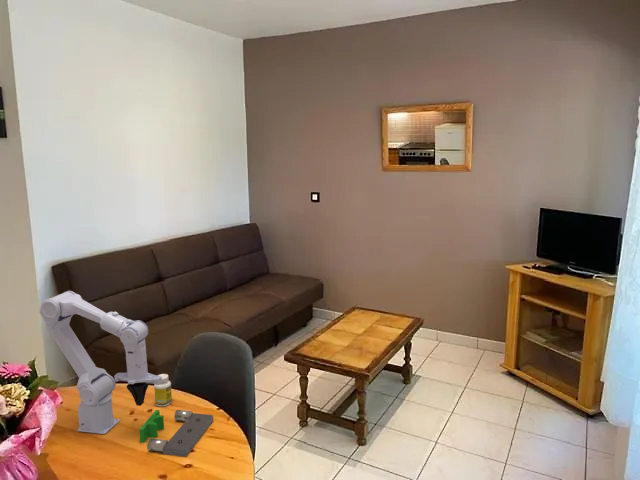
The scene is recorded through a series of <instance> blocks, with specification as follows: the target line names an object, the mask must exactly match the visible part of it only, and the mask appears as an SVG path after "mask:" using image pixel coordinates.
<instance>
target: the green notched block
mask: <svg viewBox="0 0 640 480" xmlns="http://www.w3.org/2000/svg"><path fill="white" fill-rule="evenodd" d="M164 421H165V420H164V415H161V413H160V409H155V410H154V411H153V413H152V414H151V415H150V417H148V419H146V421H145V422H144V423H143V424H142V425H141V427H140V428H139V429H138V431H139V443H140V444H144V443H145V442H146V441H147V440H148V439H149V438H150V439H151V438H154V439H158V434H159V433H158V431H160V430H161V431H162V430H163V431H164V429H165V422H164Z"/></svg>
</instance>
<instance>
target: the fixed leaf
mask: <svg viewBox="0 0 640 480" xmlns="http://www.w3.org/2000/svg"><path fill="white" fill-rule="evenodd" d="M173 419H174V420H175V421H178V422H180V421H181V422H184V423H182V425H181V426H180V427H179V428H178V429H177V430H176V431H175V433H173V435H172V437H171V438H169V440H167V439H161V438H151V437H150V438H149V440H148V442H147V445H146V447H147V450H148V451H154V452H161V453H163V455H170V456H176V457H177V456H178V457H185V458H187V456H189V454H190V453H191V451H192V450H193V449H194V447H195V446H196V444H197V443H198V442H199V440H200V439H201V438H202V437H203V435H204V434H205V433H206V431H207V430H208V429H209V428H210V427H211V425H212V424H213V423H214V414H207V413H206V414H205V413H197V412H196V413H195V412H193V411H192V410H185V409H177V410H175V412H174V418H173Z"/></svg>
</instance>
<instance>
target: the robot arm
mask: <svg viewBox="0 0 640 480" xmlns="http://www.w3.org/2000/svg"><path fill="white" fill-rule="evenodd" d="M40 304H41V306H40V308H39V309H40V310H39V315H40V316H41V317H42V319H43V321H44V322H45V325H46V327H47V330H48V332H49V333H50V336H51V337H52V338H53V340H54V342H55V343H56V344H57V346H58V348H60V350H61V352H62V353H63V355H64V356H65V358H66V360H67V361H68V363H69V365H71V367H72V369H73V370H74V372H75V373H76V375H77V377H78V381H77V384H76V390H77V391H78V393H79V398H80V402H79V405H78V407H77V408H78V409H77V413H78V415H77V416H78V417H77V418H78V424H79V428H78V429H77V432H83V433H91V434H100V435H106V434H107V433H108V432H109V431H110V430H111V429H113V427H114V426H116V425H117V424H119V422H120V421H121V420H120V419H119V418H114V410H113V400H112V396H113V391H115V388H116V382H120V381H121V382H127V385H126V389H127V390H128V391H129V393H130V394H131V396H132V398H133V400H134V403H135V406H139V407H141V406H142V405H144V402H145V397H146V394H147V389H148V387H149V385H150V384H154V385H155V384H156V385H159V384H161V383H162V377H161V376H158V375H156V374H153V373H150V372H148V361H147V358H148V357H147V348H146V347H147V346H146V345H147V344H146V337H147V336H148V335H149V327H148V325H147V324H146V323H145V322H144V321H142V320H133V319H130V318H126V316H125V317H124V316H123V315H121V314H120V313H119V312H117V311H109V312H105V311H104V310H102V309H100V308H98V307H96V306H94V305H93V304H92V303H90V302H88V301H87V300H85V299H83V298H82V296H81V295H80V294H78V293H76V292H74V291H72V290H67V291H64V292H63V293H60V294H57V295H55V296H52V297H51V298H46V299H44V300H43V301H42V303H40ZM74 315H79V316H81V317H83V318H86V319H87V320H91V321H93V322H95V323H98V324H99V325H100V328H101V330H103V331H105V332H108V333H110V334H112V335H114V336H116V337H118V338H119V339H120V342H121V343H122V344H123V348H124V351H125V361H126V372H117V373H115V375H114V376H112V375H110V374H109V373H108V372H107V371H106V369H105V368H100V367H97V366H96V363H94V361H93V359H92V358H91V357H90V355H89V353H88V352H87V350H86V349H85V347H84V345H83V344H82V343H81V341H80V340H79V338H78V337H77V335H76V333H75V332H74V330H73V329H72V327H71V326H70V323H71V319H72V317H73V316H74Z"/></svg>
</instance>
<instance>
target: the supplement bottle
mask: <svg viewBox="0 0 640 480" xmlns="http://www.w3.org/2000/svg"><path fill="white" fill-rule="evenodd" d="M157 376H161V377H162V383H161V384H159V385H156V384H154V385H153V386H154V403H155V406H157V407H167V406H169V405H171V404H172V402H173V398H172V382H171V380H169V375H168V374H167V373H161V374H158V375H157Z"/></svg>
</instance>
